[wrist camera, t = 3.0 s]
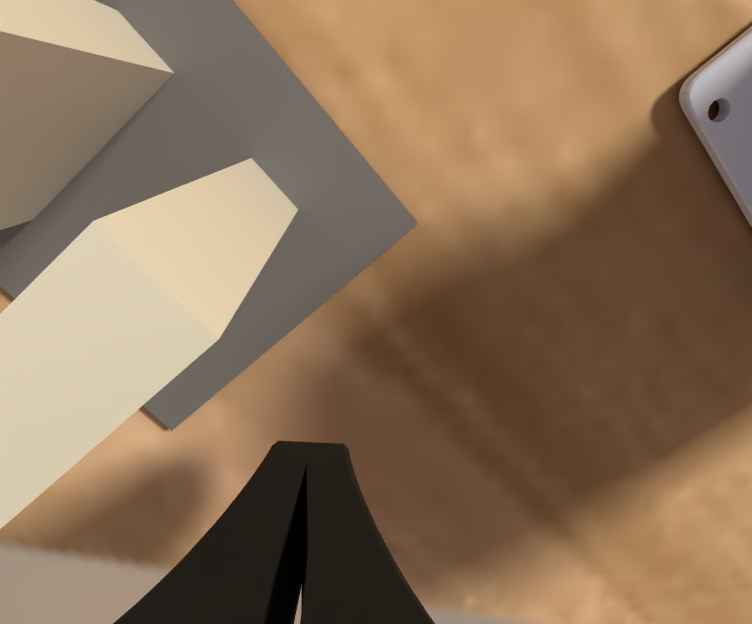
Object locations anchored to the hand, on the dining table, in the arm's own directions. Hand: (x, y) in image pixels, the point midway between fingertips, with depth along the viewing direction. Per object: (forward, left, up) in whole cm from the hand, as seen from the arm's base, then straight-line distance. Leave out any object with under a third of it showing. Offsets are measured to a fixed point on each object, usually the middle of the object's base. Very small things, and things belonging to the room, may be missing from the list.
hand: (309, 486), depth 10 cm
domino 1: (+4, 0, -5) cm, 7 cm away
